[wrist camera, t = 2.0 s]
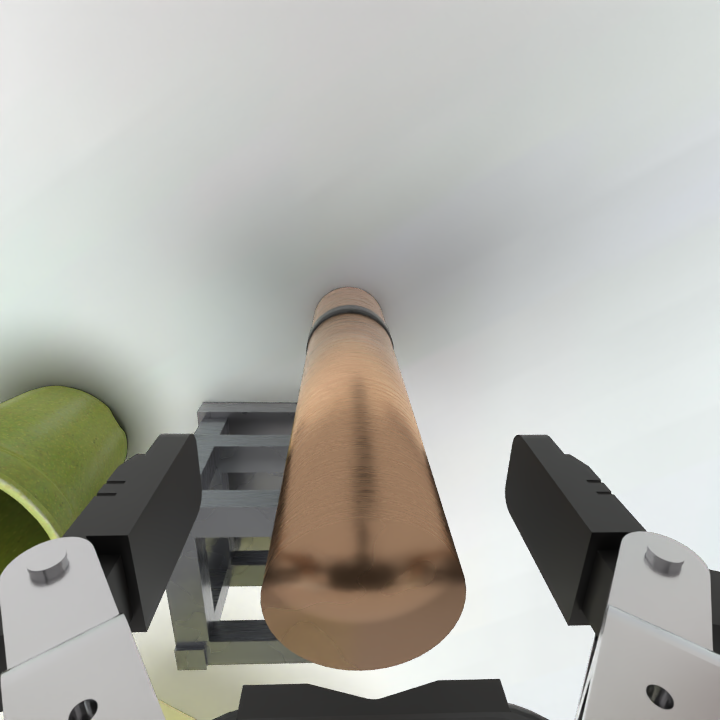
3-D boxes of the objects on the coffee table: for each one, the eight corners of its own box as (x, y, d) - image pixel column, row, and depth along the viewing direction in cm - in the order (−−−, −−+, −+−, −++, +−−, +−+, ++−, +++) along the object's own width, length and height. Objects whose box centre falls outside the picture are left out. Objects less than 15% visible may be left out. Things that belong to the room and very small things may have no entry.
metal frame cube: (202, 402, 24) (139, 504, 16) (375, 403, 24) (390, 503, 17) (217, 538, 27) (171, 675, 20) (369, 537, 27) (380, 670, 20)
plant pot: (-35, 479, 25) (-215, 623, 17) (-17, 325, 22) (-227, 411, 14) (138, 526, 27) (49, 678, 18) (178, 389, 23) (92, 499, 15)
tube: (312, 285, 22) (251, 516, 7) (385, 286, 22) (481, 515, 7) (313, 354, 23) (263, 674, 8) (382, 354, 23) (457, 670, 8)
